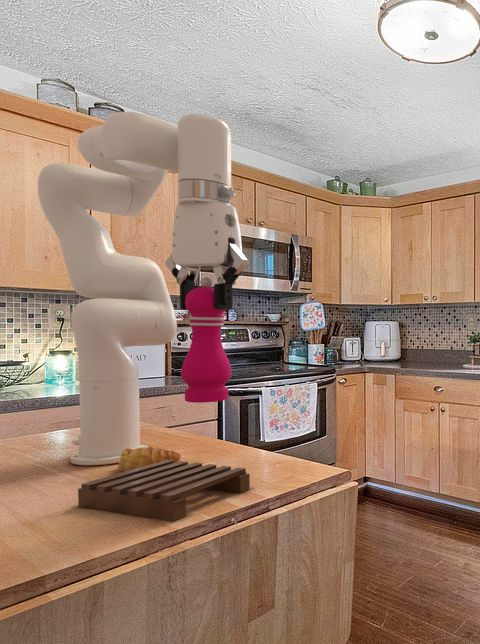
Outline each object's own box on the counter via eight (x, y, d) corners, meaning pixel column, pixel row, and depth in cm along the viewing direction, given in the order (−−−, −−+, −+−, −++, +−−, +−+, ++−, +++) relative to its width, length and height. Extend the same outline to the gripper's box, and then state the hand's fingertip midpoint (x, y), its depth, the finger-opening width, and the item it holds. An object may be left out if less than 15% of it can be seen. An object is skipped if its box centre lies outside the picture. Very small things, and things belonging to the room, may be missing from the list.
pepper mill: (210, 404, 77) (210, 275, 76) (170, 402, 78) (169, 275, 78) (241, 397, 84) (240, 279, 83) (203, 395, 85) (202, 279, 85)
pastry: (182, 460, 97) (182, 441, 97) (177, 469, 91) (177, 449, 91) (125, 465, 93) (124, 445, 93) (115, 475, 87) (115, 454, 87)
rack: (78, 506, 72) (77, 483, 72) (164, 478, 86) (164, 459, 86) (173, 521, 67) (173, 496, 67) (249, 489, 80) (249, 468, 80)
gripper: (266, 200, 81) (267, 310, 82) (182, 205, 86) (183, 309, 87) (232, 188, 74) (233, 308, 75) (142, 194, 79) (143, 308, 79)
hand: (206, 308), depth 81 cm, fingers closed on pepper mill, 6 cm apart
